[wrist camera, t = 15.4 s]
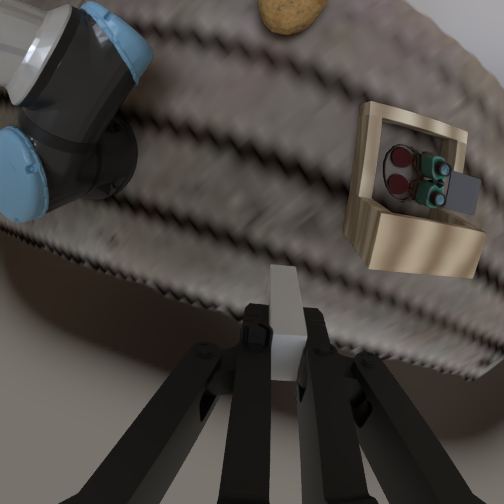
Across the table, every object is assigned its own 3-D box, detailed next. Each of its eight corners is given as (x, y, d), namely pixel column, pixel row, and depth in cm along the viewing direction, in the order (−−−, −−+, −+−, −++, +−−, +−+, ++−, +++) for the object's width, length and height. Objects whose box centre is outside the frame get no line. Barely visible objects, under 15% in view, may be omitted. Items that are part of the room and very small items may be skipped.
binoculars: (400, 141, 32) (462, 158, 30) (379, 140, 41) (432, 152, 40) (391, 208, 35) (451, 220, 34) (372, 193, 45) (424, 203, 43)
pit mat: (444, 207, 44) (444, 208, 43) (451, 170, 41) (451, 170, 41) (473, 214, 43) (474, 215, 43) (480, 179, 41) (481, 179, 40)
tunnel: (342, 231, 47) (368, 269, 33) (360, 104, 38) (397, 93, 25) (431, 243, 46) (472, 278, 33) (451, 131, 38) (503, 136, 25)
